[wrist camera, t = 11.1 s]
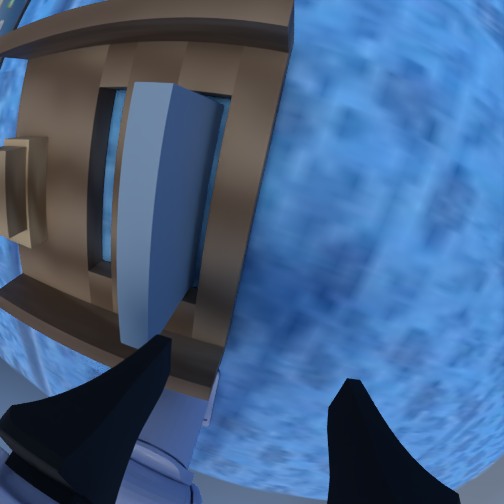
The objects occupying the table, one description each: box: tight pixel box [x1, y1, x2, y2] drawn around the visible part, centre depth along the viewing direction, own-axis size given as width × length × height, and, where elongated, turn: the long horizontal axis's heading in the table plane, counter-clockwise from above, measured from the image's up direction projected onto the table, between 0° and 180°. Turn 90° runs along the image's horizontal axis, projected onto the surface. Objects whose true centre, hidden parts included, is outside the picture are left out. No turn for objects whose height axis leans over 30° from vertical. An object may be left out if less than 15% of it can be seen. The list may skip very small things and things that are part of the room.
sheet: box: [117, 82, 224, 349], centre depth 14 cm, size 12×2×8 cm, turn 168°
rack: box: [0, 0, 294, 401], centre depth 16 cm, size 22×20×6 cm
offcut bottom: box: [4, 136, 48, 249], centre depth 16 cm, size 8×4×2 cm, turn 168°
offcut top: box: [0, 146, 27, 238], centre depth 14 cm, size 6×3×2 cm, turn 168°
